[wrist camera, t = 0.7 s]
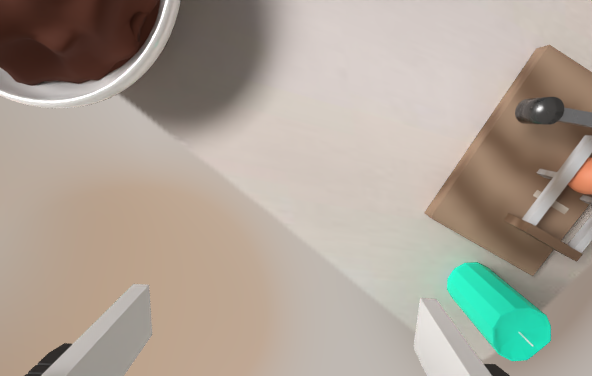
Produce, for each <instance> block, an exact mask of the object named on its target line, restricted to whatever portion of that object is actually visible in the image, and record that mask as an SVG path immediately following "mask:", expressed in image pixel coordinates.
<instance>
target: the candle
mask: <svg viewBox="0 0 592 376" xmlns="http://www.w3.org/2000/svg"><path fill="white" fill-rule="evenodd" d="M447 290H448V292H449V293H450V295H451V297H452V298H453V300H454V301H455V302H456V303H457V304H458V306H459V307H460V308H461V309H462V310H463V312H464V313H465V314H466V315H467V317H468V318H469V319H470V320H471V321H472V323H473V324H474V325H475V326H476V327H477V329H478V330H479V331H480V332H481V334H482V335H483V336H484V337H485V338H486V340H487V341H488V342H489V343H490V344H491V346H492V347H493V348H494V349H495V351H496V352H497V353H498V354H499V355H501V356H503V357H505V358H507V359H509V360H511V361H521V360H528V359H529V358H530V357H532V356H533V355H534V354H536V353H537V352H538V351H539V350H541V349H542V348H543V347H544V346H545V345H547V344H548V343H549V342H550V341H551V325H550V323H549V321H548V318H547V316H546V315H545V314H544V313H543V312H541V311H540V310H539V309H538V308H536V307H535V306H534V305H533V304H532V303H530V302H529V301H528V300H527V299H525V298H524V297H523V296H522V295H521V294H519V293H518V292H517V291H516V290H514V289H513V288H512V287H511V286H510V285H508V284H507V283H506V282H505V281H503V280H502V279H501V278H500V277H499V276H497V275H496V274H495V273H494V272H492V271H491V270H490V269H489V268H487V267H486V266H484V265H482V264H480V263H478V262H474V263H464V264H462V265H460V266H458V267H457V268H455V269H454V270H453V271H452V273H451V274H450V276H449V277H448V282H447Z"/></svg>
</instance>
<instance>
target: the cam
mask: <svg viewBox="0 0 592 376" xmlns="http://www.w3.org/2000/svg"><path fill="white" fill-rule="evenodd" d="M515 116H516V119H517V120H518V121H519V122H520V123H523V124H545V125H550V124H554V123H556V122H561V123H566V124H572V125H578V126H584V127H589V128H592V112H587V111H581V110H576V109H570V108H564V104H563V102H562V100H561V99H559V98H557V97H542V98H529V99H525V100H523V101H521V102H520V103H519V104H518V105H517V107H516V110H515Z"/></svg>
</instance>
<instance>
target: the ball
mask: <svg viewBox="0 0 592 376" xmlns="http://www.w3.org/2000/svg"><path fill="white" fill-rule="evenodd" d="M568 185H569V187H570V188H571V189H573V190H574V191H576V192H578V193H582V194H592V157H589V158H587V160H586V161H585V162H584V164H583V165H582V166H581V168H580V169H579V170H578V171H577V173H576V174H575V175H574V177H573V178H572V179H571V181H570V182H569V183H568Z"/></svg>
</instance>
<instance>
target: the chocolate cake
mask: <svg viewBox="0 0 592 376" xmlns="http://www.w3.org/2000/svg"><path fill="white" fill-rule="evenodd" d="M179 6H180V0H0V96H2V97H4V98H7V99H9V100H12V101H15V102H19V103H22V104H26V105H31V106H37V107H45V108H71V107H79V106H86V105H90V104H94V103H98V102H100V101H103V100H106V99H108V98H111V97H112V96H115V95H117V94H119V93H120V92H122V91H123V90H125V89H127V88H128V87H130V86H131V85H132V84H133V83H135V82H136V81H137V80H138V79H140V78H141V77H142V76H143V75H144V74H145V73H146V72H147V71H148V70H149V68H150V67H151V66H152V65H153V63H154V62H155V61H156V60H157V58H158V56H159V55H160V53H161V52H162V50H163V49H164V47H165V45H166V43H167V41H168V39H169V37H170V35H171V32H172V29H173V27H174V24H175V21H176V18H177V14H178V11H179Z"/></svg>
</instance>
